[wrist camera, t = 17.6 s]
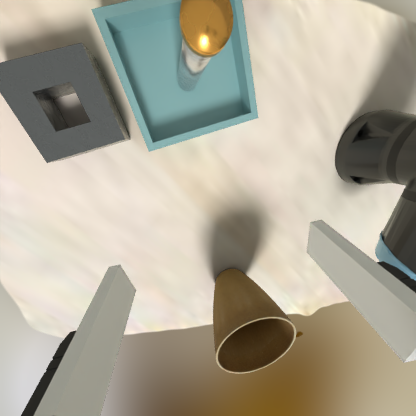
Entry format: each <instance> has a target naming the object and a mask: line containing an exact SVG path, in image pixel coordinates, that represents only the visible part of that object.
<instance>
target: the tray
mask: <svg viewBox="0 0 416 416" xmlns="http://www.w3.org/2000/svg"><path fill="white" fill-rule="evenodd" d="M230 3H231V6H232V10H233V28H232V32H231V35H230V38H229V40H228V41H227V43H226V45H225V46H224V48H223V49H222V50H221V52H220V53H218V54H217V55H215V56H213V57H211V59H210V60H209V62H208V64H207V66H206V68H205V70H204V72H203V74H202V75H201V77H200V79H199V81H198V83H197V85H196V87H195V88H194V89H193V90H192V91H188V92H187V91H184V90H182V89H181V88H180V86H179V85H178V82H177V75H178V68H179V62H180V55H181V48H182V42H183V37H182V35H181V31H180V25H179V16H180V6H181V0H130V1H126V2H121V3H117V4H113V5H108V6H104V7H100V8H95V9H92V12H93V14H94V17H95V19H96V22H97V24H98V27H99V29H100V32H101V34H102V37H103V39H104V42H105V44H106V46H107V49H108V51H109V54H110V56H111V59H112V61H113V64H114V66H115V69H116V71H117V74H118V76H119V79H120V81H121V83H122V86H123V88H124V91H125V93H126V96H127V98H128V101H129V103H130V106H131V108H132V111H133V113H134V116H135V118H136V121H137V123H138V125H139V128H140V130H141V133H142V135H143V138H144V140H145V143H146V145H147V148H148V150H149V152H150V151H153V150H156V149H159V148H163V147H166V146H169V145H172V144H175V143H179V142H182V141H185V140H188V139H191V138H195V137H198V136H201V135H204V134H208V133H211V132H214V131H217V130H220V129H224V128H227V127H230V126H233V125H237V124H240V123H243V122H246V121H249V120H253V119H256V118H258V112H257V105H256V98H255V91H254V83H253V76H252V69H251V62H250V54H249V47H248V40H247V33H246V25H245V18H244V11H243V4H242V0H230Z"/></svg>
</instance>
